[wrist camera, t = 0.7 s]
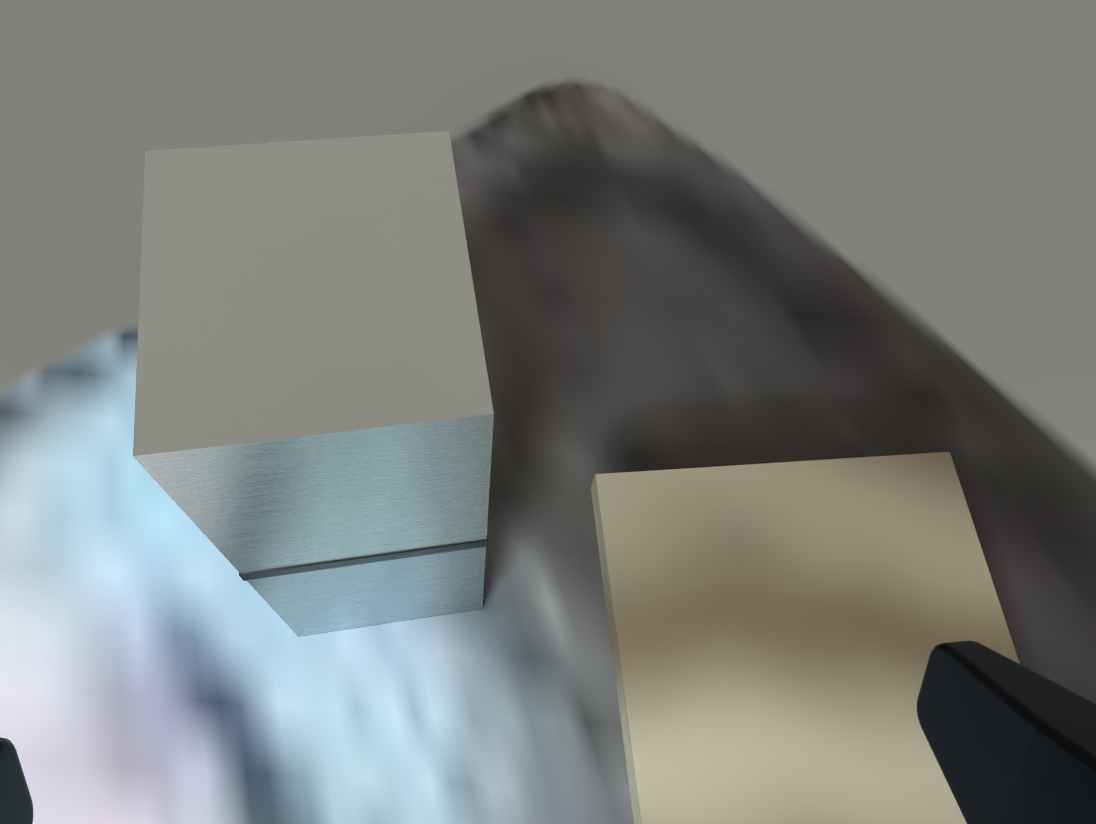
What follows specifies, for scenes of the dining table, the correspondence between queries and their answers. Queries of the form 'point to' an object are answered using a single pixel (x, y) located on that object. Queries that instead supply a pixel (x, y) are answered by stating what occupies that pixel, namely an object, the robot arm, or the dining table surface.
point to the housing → (319, 372)
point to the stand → (788, 635)
